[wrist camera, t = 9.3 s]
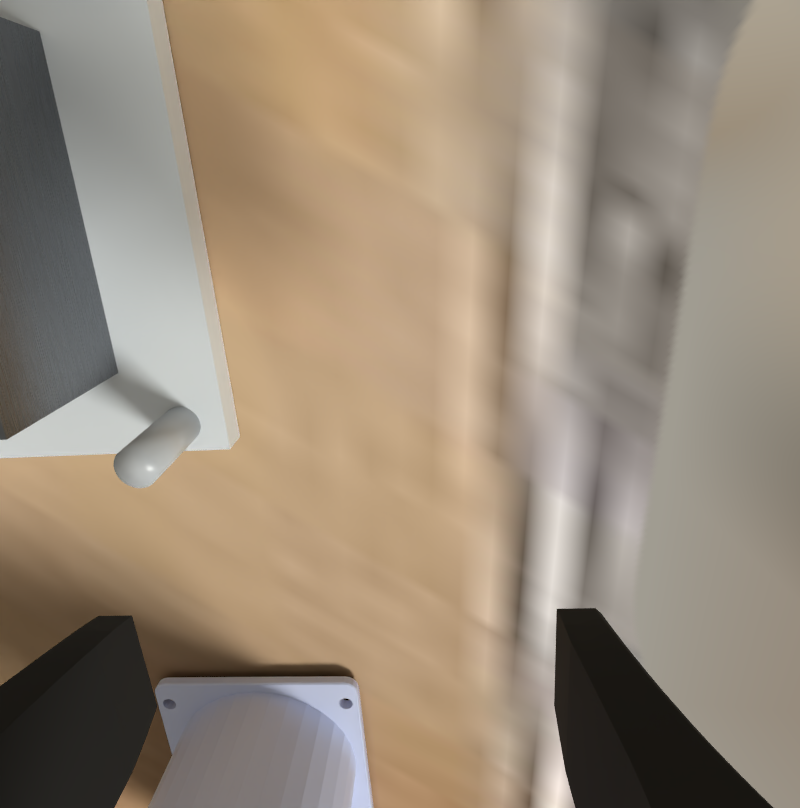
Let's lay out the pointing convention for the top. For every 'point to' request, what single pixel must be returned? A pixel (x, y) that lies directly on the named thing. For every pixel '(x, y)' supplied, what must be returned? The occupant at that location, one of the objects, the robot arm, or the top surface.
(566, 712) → the robot arm
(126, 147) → the tray
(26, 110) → the block
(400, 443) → the top surface
